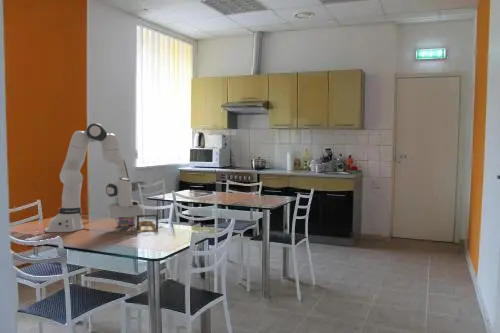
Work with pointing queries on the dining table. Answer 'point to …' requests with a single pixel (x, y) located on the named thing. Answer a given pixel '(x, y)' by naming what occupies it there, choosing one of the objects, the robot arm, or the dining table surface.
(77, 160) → the robot arm
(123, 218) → the box
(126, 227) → the gray domed cylinder
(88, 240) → the dining table surface
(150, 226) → the wooden tray with handle
